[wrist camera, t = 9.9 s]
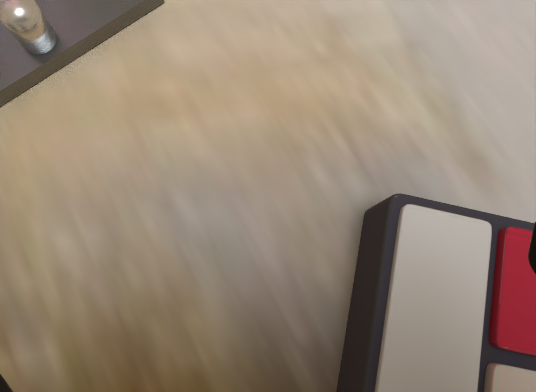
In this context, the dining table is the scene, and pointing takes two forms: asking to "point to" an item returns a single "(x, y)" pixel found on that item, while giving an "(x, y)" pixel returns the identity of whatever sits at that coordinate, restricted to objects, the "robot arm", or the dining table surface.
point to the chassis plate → (56, 35)
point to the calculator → (440, 302)
